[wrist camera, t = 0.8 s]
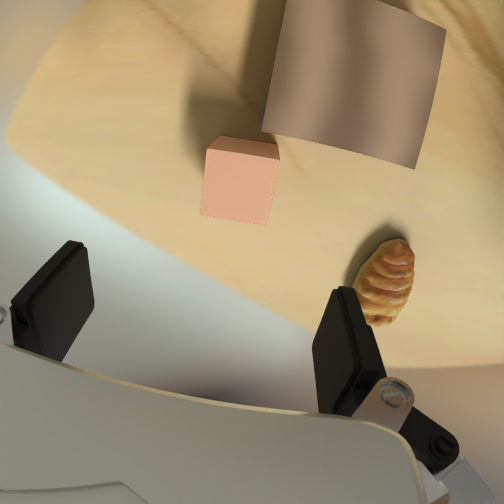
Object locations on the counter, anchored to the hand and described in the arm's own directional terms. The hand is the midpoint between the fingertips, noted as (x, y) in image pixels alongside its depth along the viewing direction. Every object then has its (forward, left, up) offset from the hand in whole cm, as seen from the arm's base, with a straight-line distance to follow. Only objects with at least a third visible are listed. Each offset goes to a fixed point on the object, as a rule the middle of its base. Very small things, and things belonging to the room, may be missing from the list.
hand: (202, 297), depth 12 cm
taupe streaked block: (-7, -10, -19) cm, 22 cm away
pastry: (-16, +9, -19) cm, 26 cm away
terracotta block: (0, 0, -18) cm, 18 cm away
